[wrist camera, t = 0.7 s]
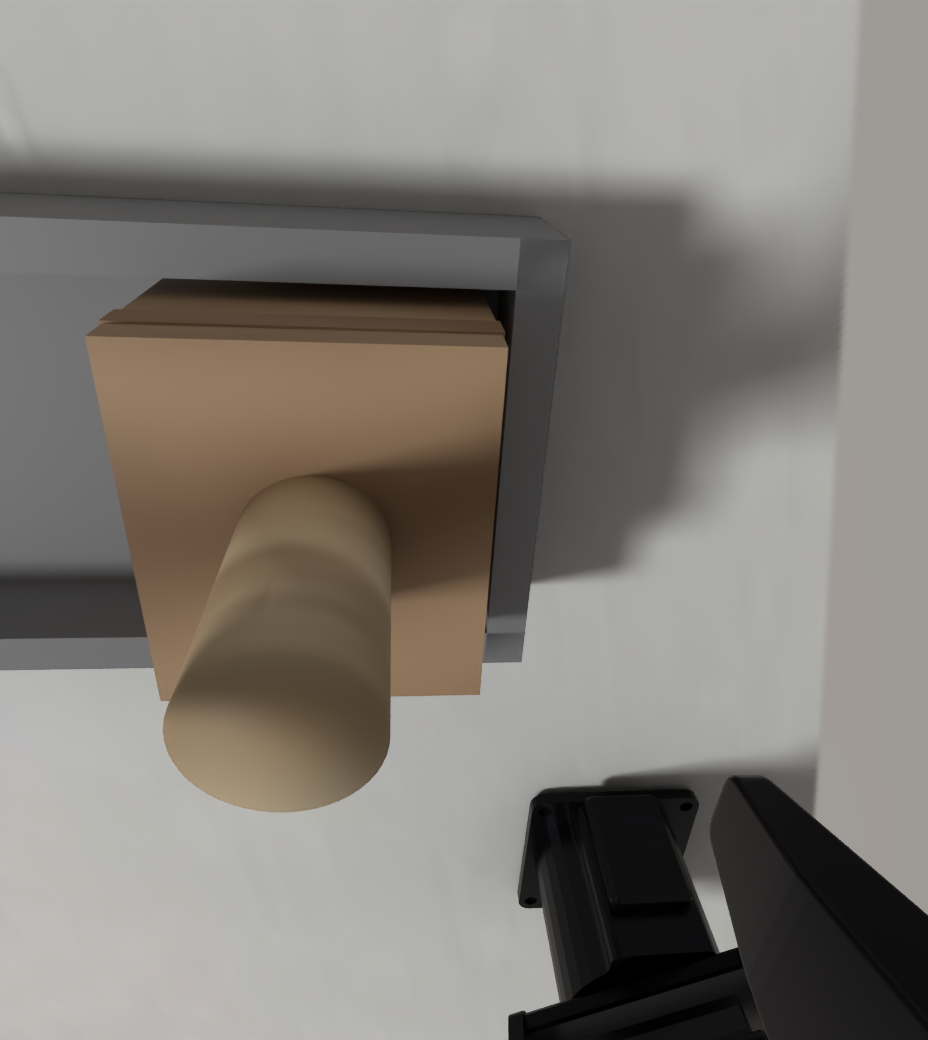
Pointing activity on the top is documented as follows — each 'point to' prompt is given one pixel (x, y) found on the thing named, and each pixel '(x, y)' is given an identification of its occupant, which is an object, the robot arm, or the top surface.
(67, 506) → the bay
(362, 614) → the tan block with peg
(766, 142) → the top surface
